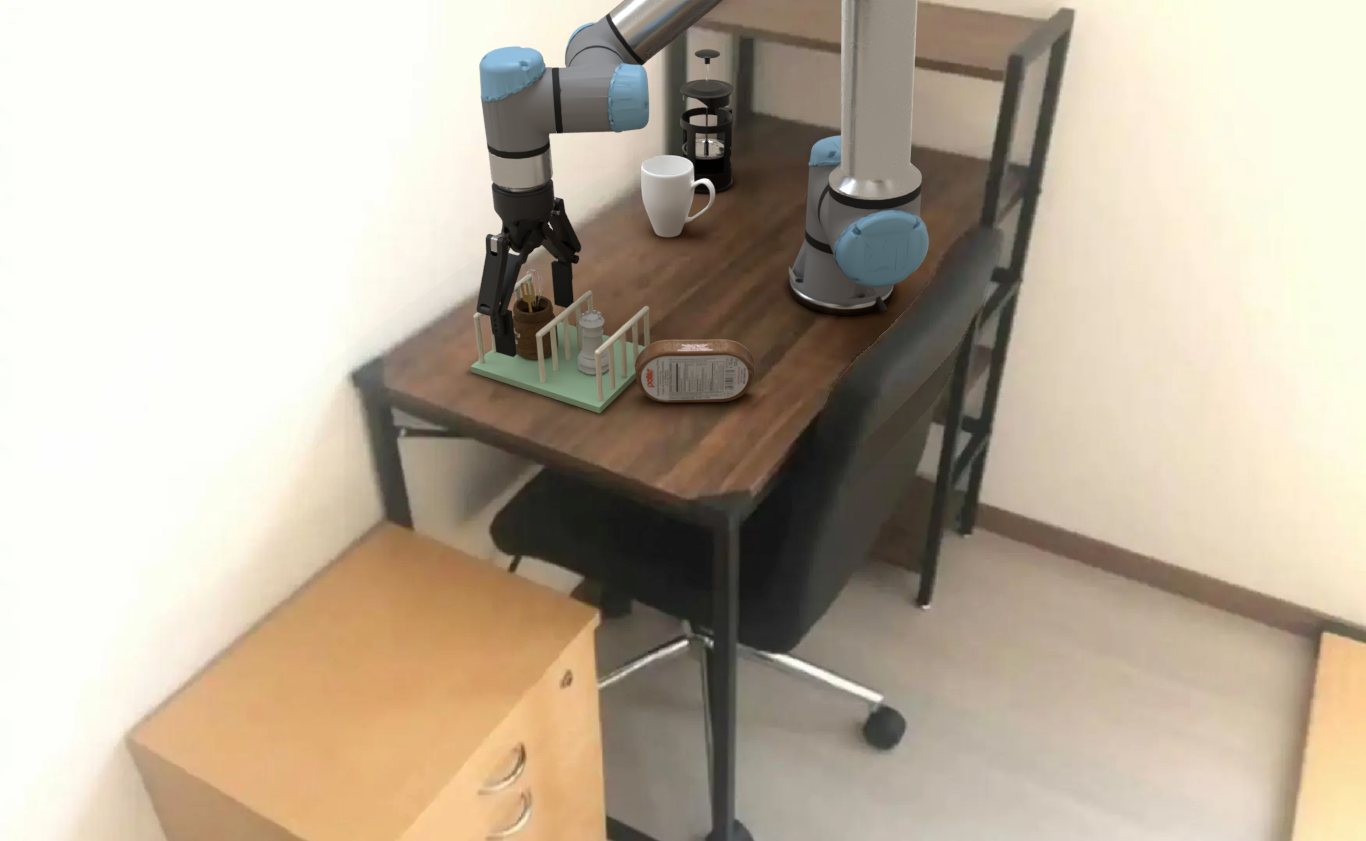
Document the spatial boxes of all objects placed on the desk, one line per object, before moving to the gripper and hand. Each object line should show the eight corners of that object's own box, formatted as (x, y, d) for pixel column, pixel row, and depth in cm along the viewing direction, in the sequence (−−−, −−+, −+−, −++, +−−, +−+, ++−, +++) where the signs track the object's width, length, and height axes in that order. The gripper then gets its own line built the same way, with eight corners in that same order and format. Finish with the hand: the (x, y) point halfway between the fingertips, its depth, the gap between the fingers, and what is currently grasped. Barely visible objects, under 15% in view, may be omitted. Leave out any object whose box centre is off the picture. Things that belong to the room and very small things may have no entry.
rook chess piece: (573, 361, 149) (569, 309, 144) (605, 355, 150) (603, 303, 145) (583, 379, 145) (579, 326, 141) (616, 372, 147) (613, 320, 142)
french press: (709, 200, 191) (711, 66, 178) (666, 186, 196) (664, 54, 182) (748, 177, 199) (753, 47, 185) (705, 164, 203) (707, 36, 190)
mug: (634, 238, 180) (632, 171, 173) (653, 216, 186) (652, 151, 179) (704, 250, 176) (705, 183, 170) (722, 228, 183) (723, 162, 176)
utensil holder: (560, 337, 154) (554, 259, 147) (556, 362, 149) (549, 283, 142) (517, 337, 154) (509, 259, 147) (512, 362, 149) (503, 283, 142)
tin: (752, 390, 145) (754, 335, 140) (754, 404, 143) (756, 348, 138) (635, 393, 145) (634, 337, 140) (635, 407, 142) (634, 351, 137)
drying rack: (658, 356, 152) (657, 302, 147) (599, 413, 141) (596, 357, 136) (535, 320, 159) (530, 268, 154) (471, 372, 149) (463, 317, 144)
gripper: (553, 139, 147) (564, 281, 160) (433, 213, 129) (455, 367, 142) (601, 149, 144) (609, 294, 157) (485, 227, 127) (504, 382, 139)
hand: (536, 329), depth 149 cm, fingers open, 13 cm apart
